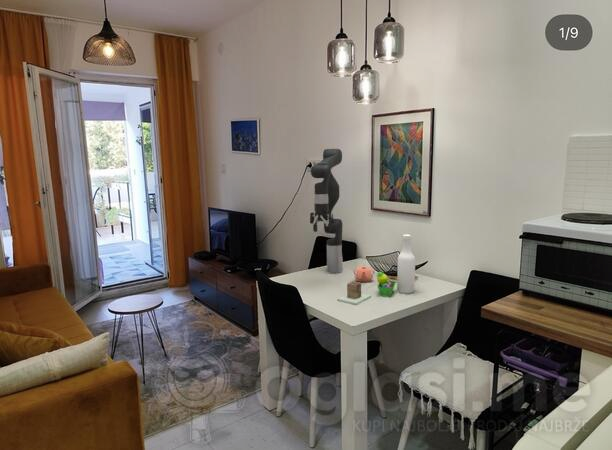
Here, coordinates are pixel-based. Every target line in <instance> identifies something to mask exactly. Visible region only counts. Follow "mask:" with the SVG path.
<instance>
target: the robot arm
mask: <svg viewBox="0 0 612 450" xmlns="http://www.w3.org/2000/svg"><path fill="white" fill-rule="evenodd" d="M322 153H323V154H322V160H321V161H320V162H318V163H317V162H316V163H314V164H313V165H312V166H311V168H310V175H311V176H312V178H314V179H323V180H322V181H320V182H317V183H315V184H314V196H313V197H314V199H313V202H314V204H313V205H314V207H313V208H314V209H313V210H314V211H313V212H310V213H309V214H310V215H309V223H310V224H311V225H312V226H313V227H312V228H313V229H312V231H313V232H314V233H316V232H318V223H319V222H323V230H324V233H325V234H332V235H334V237H332V238H329V239H327V240H326V272H327V273H329V274H341V273H342V272H343V270H344V269H343V268H344V267H343V264H344V263H343V250H342V249H343V248H342V247H343V243H342V242H343V221H342V219H341V218H334V214H333V210H334V208H335V206H336V204H337V203H338V201H339V199H340V185H339V182H338V180H336V177H334V174H333V172H332V169H333V168H334V167H336V166H337V165H340V164H341V163H342V160H343V152H342V150H341V149H340V148H324V150H323V152H322Z"/></svg>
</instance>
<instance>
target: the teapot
mask: <svg viewBox="0 0 612 450" xmlns="http://www.w3.org/2000/svg"><path fill="white" fill-rule="evenodd" d="M353 274H354V279H356V281H355V282H358V283H362V282H365V283H369V282H370V283H371V282H372V279H374V274H375V270H374V269H373V268H372V267H370V266H369V267H367V266H365V264H364V265H363V266H356V268H355V269H353Z"/></svg>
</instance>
